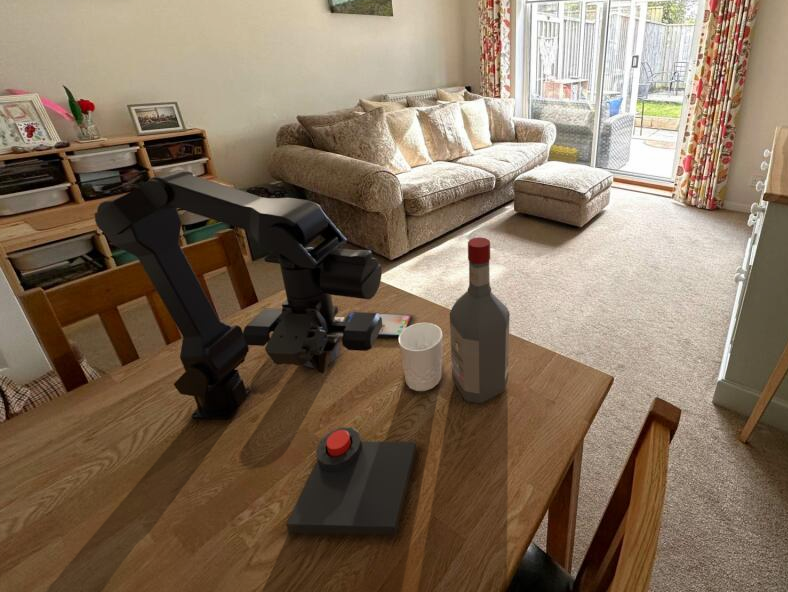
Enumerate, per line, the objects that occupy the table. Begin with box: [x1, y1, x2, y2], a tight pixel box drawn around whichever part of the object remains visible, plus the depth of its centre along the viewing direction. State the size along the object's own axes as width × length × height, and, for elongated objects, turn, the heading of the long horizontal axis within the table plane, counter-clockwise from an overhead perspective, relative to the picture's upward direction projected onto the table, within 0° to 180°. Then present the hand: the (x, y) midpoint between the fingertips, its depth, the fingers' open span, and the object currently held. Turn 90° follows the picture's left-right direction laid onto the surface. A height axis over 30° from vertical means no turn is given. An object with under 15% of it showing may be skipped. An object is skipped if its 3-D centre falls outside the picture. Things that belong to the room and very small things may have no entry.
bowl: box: [303, 343, 340, 369], centre depth 81 cm, size 7×7×5 cm
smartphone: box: [344, 311, 413, 339], centre depth 91 cm, size 8×1×15 cm
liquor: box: [449, 236, 511, 405], centre depth 71 cm, size 9×9×30 cm
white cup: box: [397, 322, 443, 392], centre depth 76 cm, size 8×8×10 cm
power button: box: [326, 430, 351, 456], centre depth 60 cm, size 3×3×2 cm
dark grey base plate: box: [286, 426, 417, 536], centre depth 58 cm, size 14×13×4 cm
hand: (322, 371), depth 64 cm, fingers closed
